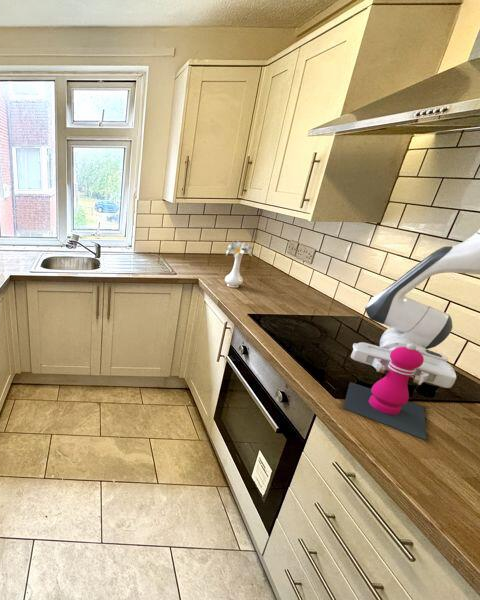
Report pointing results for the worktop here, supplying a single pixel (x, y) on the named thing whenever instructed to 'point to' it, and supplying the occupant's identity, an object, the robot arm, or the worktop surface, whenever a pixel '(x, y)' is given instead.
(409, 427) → the mat
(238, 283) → the flower vase
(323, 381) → the worktop surface
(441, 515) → the worktop surface
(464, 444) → the worktop surface
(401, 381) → the pepper mill
